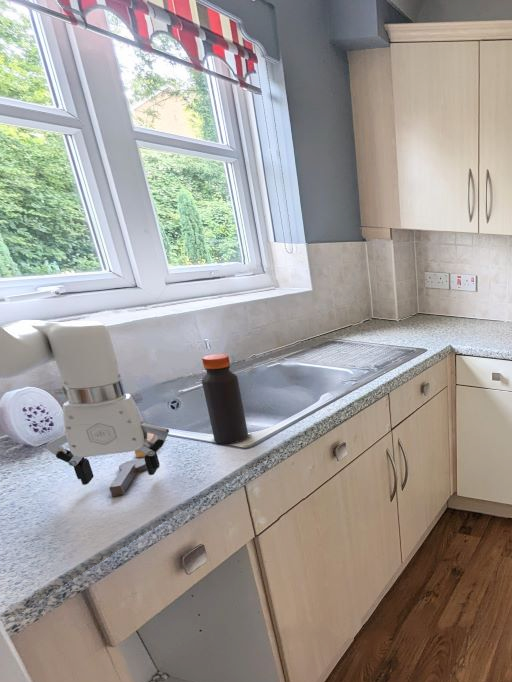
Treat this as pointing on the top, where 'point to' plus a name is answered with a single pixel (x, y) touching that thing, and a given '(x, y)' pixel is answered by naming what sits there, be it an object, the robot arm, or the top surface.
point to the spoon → (126, 476)
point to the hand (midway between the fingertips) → (121, 476)
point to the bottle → (223, 400)
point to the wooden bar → (151, 438)
